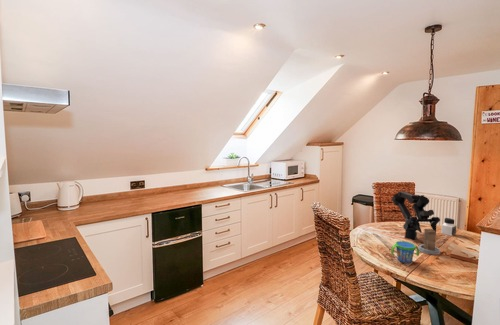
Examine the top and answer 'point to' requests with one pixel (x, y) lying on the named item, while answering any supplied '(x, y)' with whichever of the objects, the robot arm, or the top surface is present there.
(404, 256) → the snack cup
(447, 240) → the top surface
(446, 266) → the top surface
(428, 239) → the walnut block
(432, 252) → the gray bowl
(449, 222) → the medicine bottle
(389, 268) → the top surface
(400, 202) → the robot arm
